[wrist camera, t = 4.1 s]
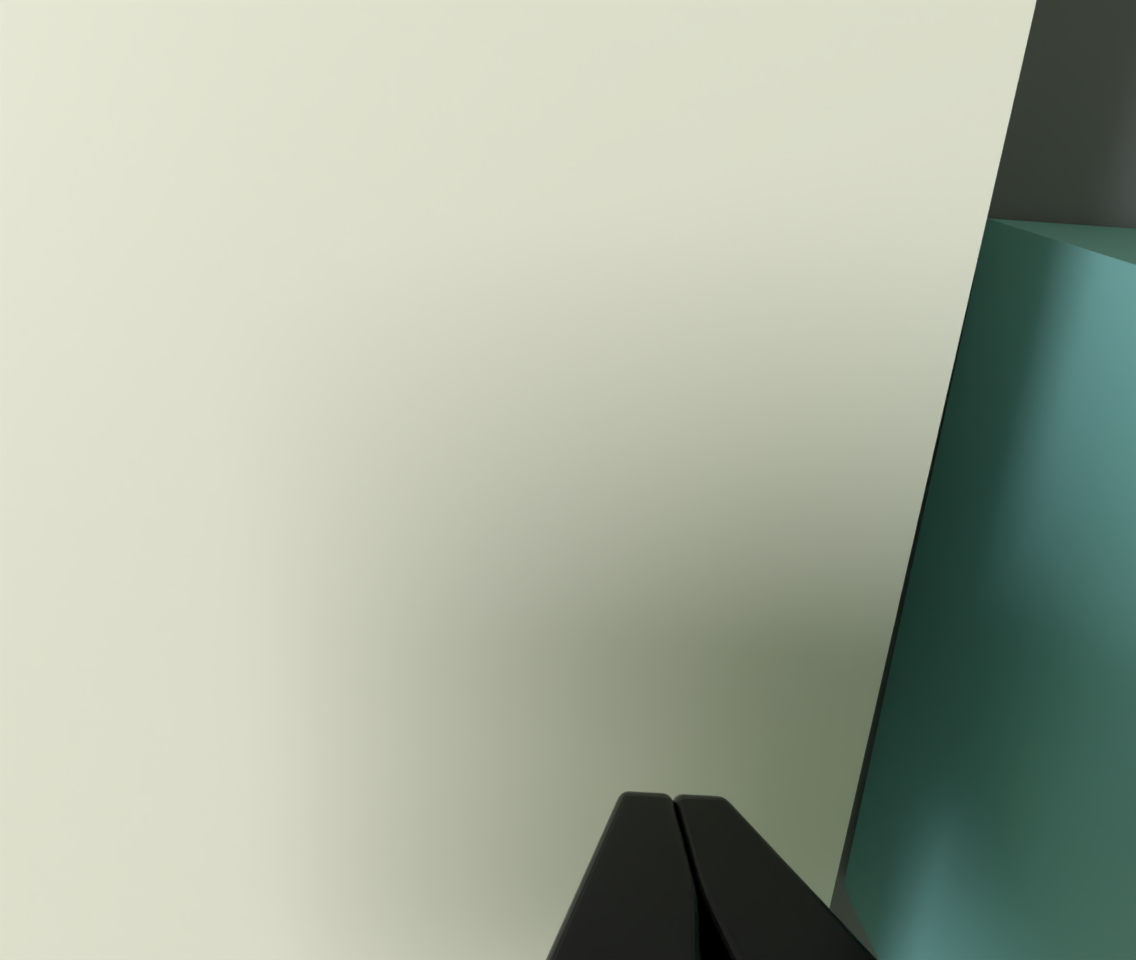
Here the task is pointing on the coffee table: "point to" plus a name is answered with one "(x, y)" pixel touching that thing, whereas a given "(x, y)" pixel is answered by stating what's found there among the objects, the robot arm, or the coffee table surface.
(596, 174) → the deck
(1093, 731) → the block
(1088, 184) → the mat
